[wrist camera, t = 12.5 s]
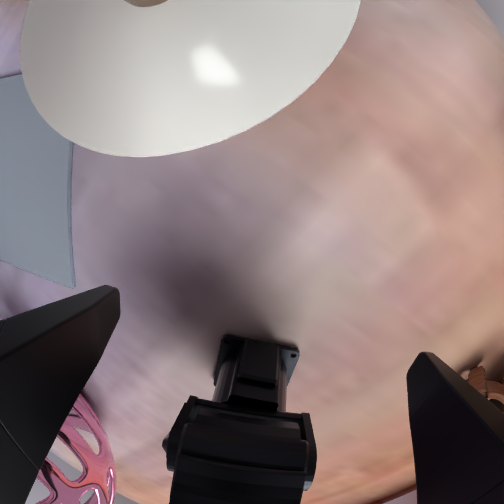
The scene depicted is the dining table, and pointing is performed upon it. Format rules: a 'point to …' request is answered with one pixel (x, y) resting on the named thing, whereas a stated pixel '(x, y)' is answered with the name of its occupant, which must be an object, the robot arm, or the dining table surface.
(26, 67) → the ceramic lid
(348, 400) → the dining table surface
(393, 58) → the dining table surface
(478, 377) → the pottery mug
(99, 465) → the spiral basket
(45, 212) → the rubber mat
